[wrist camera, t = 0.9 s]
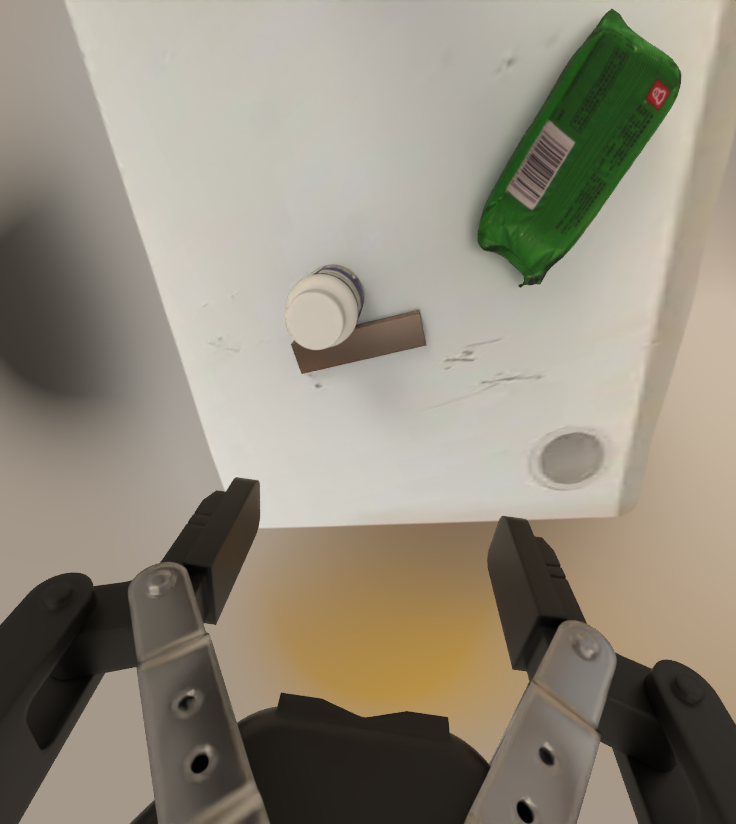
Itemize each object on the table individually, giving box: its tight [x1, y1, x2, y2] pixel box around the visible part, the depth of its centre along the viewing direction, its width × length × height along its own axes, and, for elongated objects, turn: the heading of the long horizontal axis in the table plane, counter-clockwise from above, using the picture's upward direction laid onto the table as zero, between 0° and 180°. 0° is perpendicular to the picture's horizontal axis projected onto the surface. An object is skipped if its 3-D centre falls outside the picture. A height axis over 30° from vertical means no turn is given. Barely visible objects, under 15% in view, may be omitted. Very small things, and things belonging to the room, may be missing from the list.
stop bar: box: [291, 310, 426, 374], centre depth 37 cm, size 3×12×1 cm, turn 105°
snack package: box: [478, 9, 681, 287], centre depth 28 cm, size 7×16×5 cm, turn 152°
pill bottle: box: [286, 265, 364, 350], centre depth 31 cm, size 5×5×10 cm
